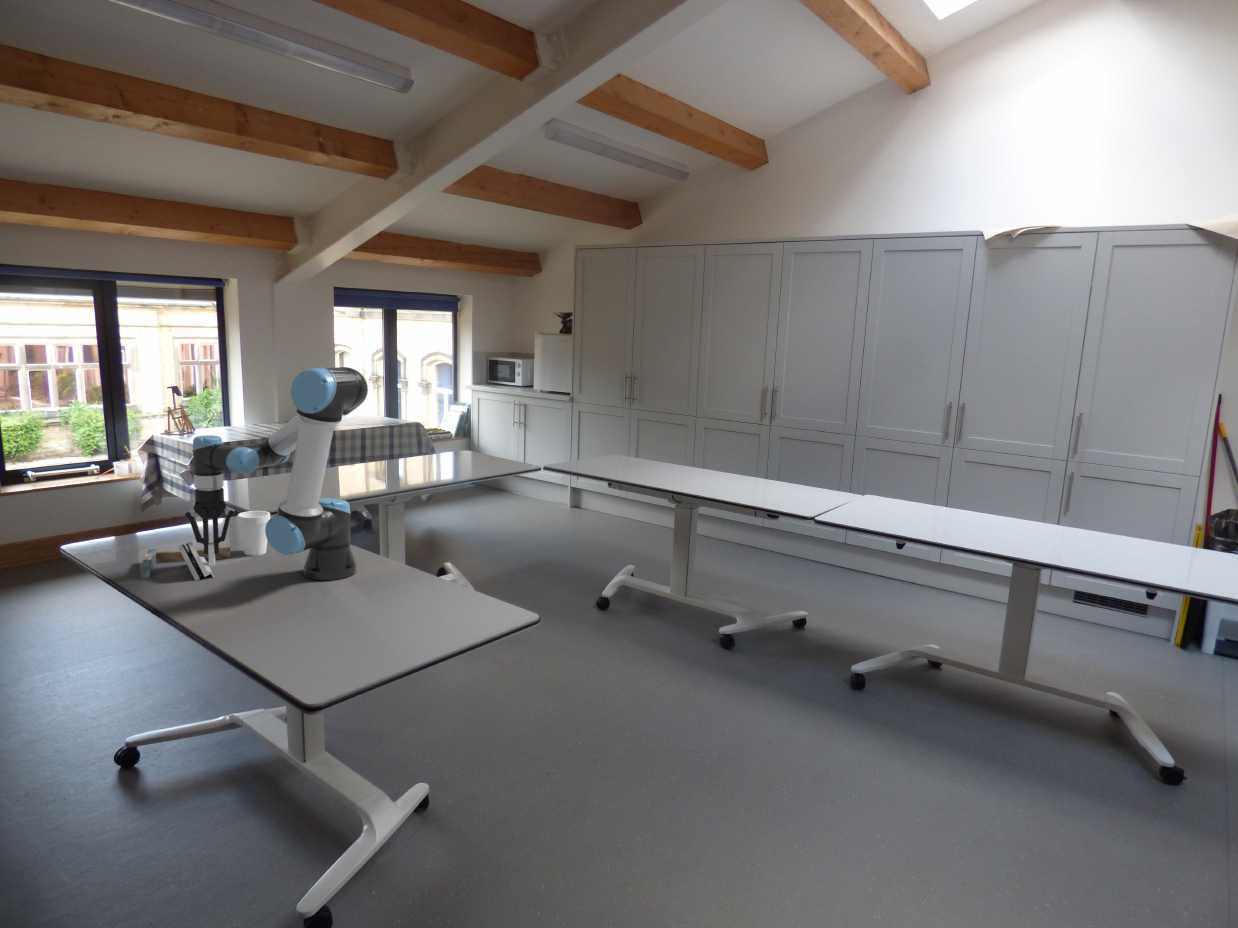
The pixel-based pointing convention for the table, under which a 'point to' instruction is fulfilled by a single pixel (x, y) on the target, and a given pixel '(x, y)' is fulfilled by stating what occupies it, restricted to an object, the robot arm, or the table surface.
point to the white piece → (198, 563)
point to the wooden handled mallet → (172, 559)
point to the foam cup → (253, 531)
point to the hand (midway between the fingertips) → (212, 563)
